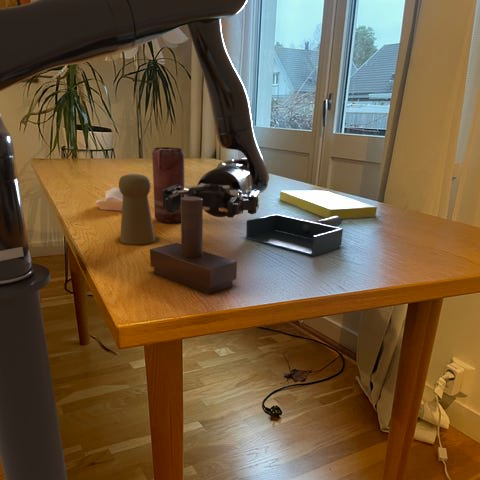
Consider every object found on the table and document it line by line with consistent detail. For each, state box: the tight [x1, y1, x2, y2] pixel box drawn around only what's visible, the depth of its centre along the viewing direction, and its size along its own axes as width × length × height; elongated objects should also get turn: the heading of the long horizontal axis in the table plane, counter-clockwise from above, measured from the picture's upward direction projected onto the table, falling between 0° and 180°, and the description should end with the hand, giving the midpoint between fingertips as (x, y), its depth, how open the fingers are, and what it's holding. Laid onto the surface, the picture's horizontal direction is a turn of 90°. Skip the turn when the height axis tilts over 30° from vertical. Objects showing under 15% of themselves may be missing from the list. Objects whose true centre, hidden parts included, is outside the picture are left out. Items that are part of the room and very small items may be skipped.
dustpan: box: [245, 213, 344, 257], centre depth 88 cm, size 19×15×3 cm
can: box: [151, 146, 186, 224], centre depth 94 cm, size 6×6×14 cm
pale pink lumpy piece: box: [95, 186, 123, 212], centre depth 106 cm, size 10×4×10 cm
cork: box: [118, 173, 156, 246], centre depth 81 cm, size 6×6×11 cm
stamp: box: [149, 197, 238, 295], centre depth 63 cm, size 5×12×11 cm, turn 47°
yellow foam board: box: [279, 190, 378, 220], centre depth 115 cm, size 12×2×24 cm
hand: (199, 207), depth 66 cm, fingers open, 8 cm apart
